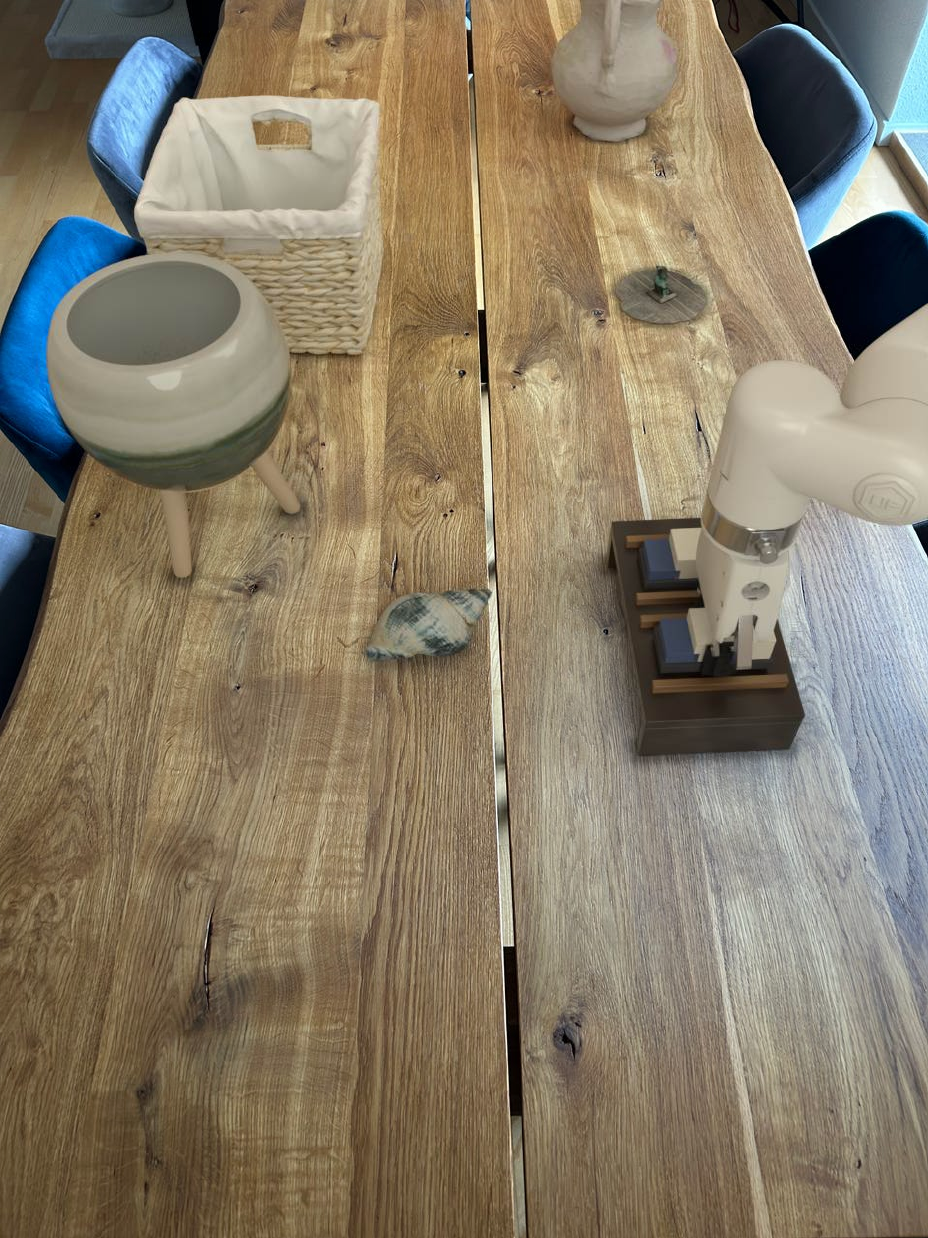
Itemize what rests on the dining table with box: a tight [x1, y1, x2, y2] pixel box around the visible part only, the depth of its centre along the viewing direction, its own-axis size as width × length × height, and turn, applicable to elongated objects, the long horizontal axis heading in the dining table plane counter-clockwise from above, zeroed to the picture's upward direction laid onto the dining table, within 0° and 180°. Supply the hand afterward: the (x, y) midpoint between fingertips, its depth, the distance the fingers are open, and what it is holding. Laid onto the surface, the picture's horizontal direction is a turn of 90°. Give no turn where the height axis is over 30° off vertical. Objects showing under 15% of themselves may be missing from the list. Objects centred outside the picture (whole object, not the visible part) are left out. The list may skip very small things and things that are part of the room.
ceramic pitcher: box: [551, 0, 679, 143], centre depth 155 cm, size 22×20×25 cm
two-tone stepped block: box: [638, 528, 701, 590], centre depth 97 cm, size 10×4×4 cm, turn 92°
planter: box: [45, 253, 301, 579], centre depth 102 cm, size 22×22×28 cm
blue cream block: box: [653, 608, 776, 673], centre depth 91 cm, size 10×4×4 cm, turn 92°
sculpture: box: [615, 265, 707, 325], centre depth 136 cm, size 12×9×8 cm
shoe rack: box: [605, 517, 806, 757], centre depth 98 cm, size 14×24×7 cm, turn 2°
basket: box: [133, 94, 385, 356], centre depth 128 cm, size 27×27×22 cm
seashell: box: [364, 588, 493, 663], centre depth 100 cm, size 6×8×12 cm
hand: (712, 648), depth 92 cm, fingers closed on blue cream block, 4 cm apart
